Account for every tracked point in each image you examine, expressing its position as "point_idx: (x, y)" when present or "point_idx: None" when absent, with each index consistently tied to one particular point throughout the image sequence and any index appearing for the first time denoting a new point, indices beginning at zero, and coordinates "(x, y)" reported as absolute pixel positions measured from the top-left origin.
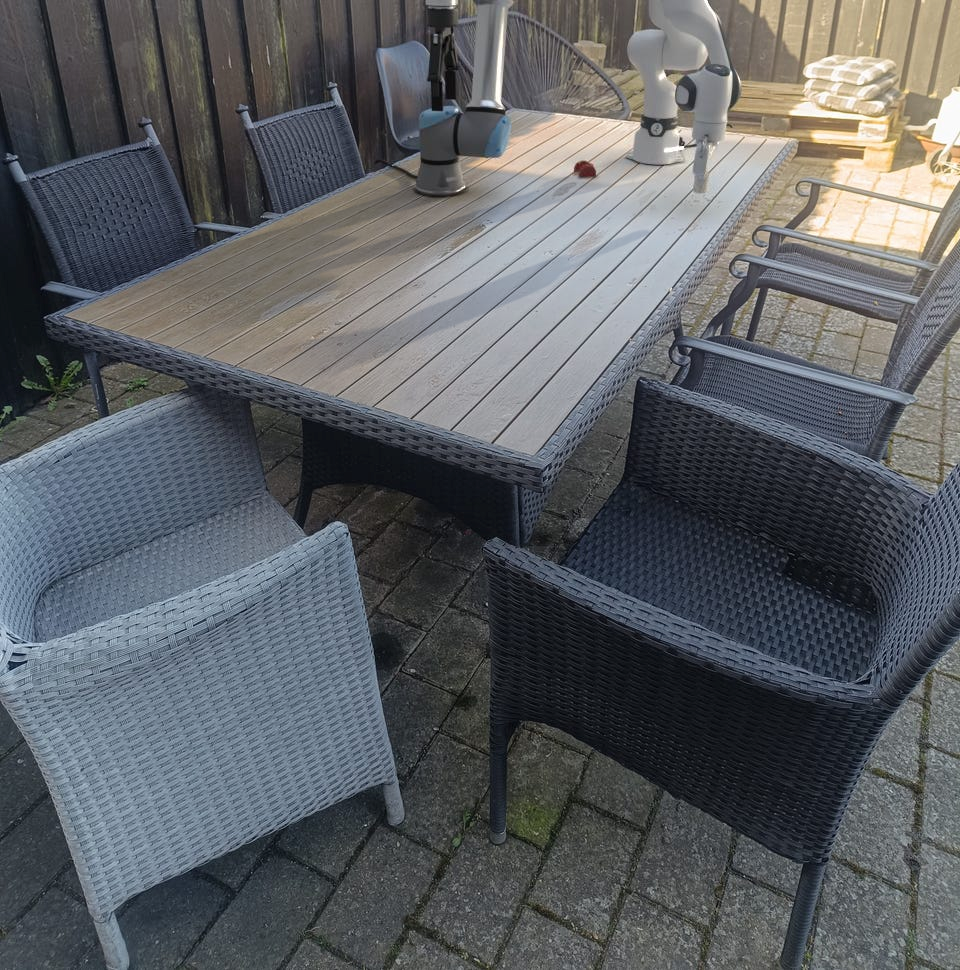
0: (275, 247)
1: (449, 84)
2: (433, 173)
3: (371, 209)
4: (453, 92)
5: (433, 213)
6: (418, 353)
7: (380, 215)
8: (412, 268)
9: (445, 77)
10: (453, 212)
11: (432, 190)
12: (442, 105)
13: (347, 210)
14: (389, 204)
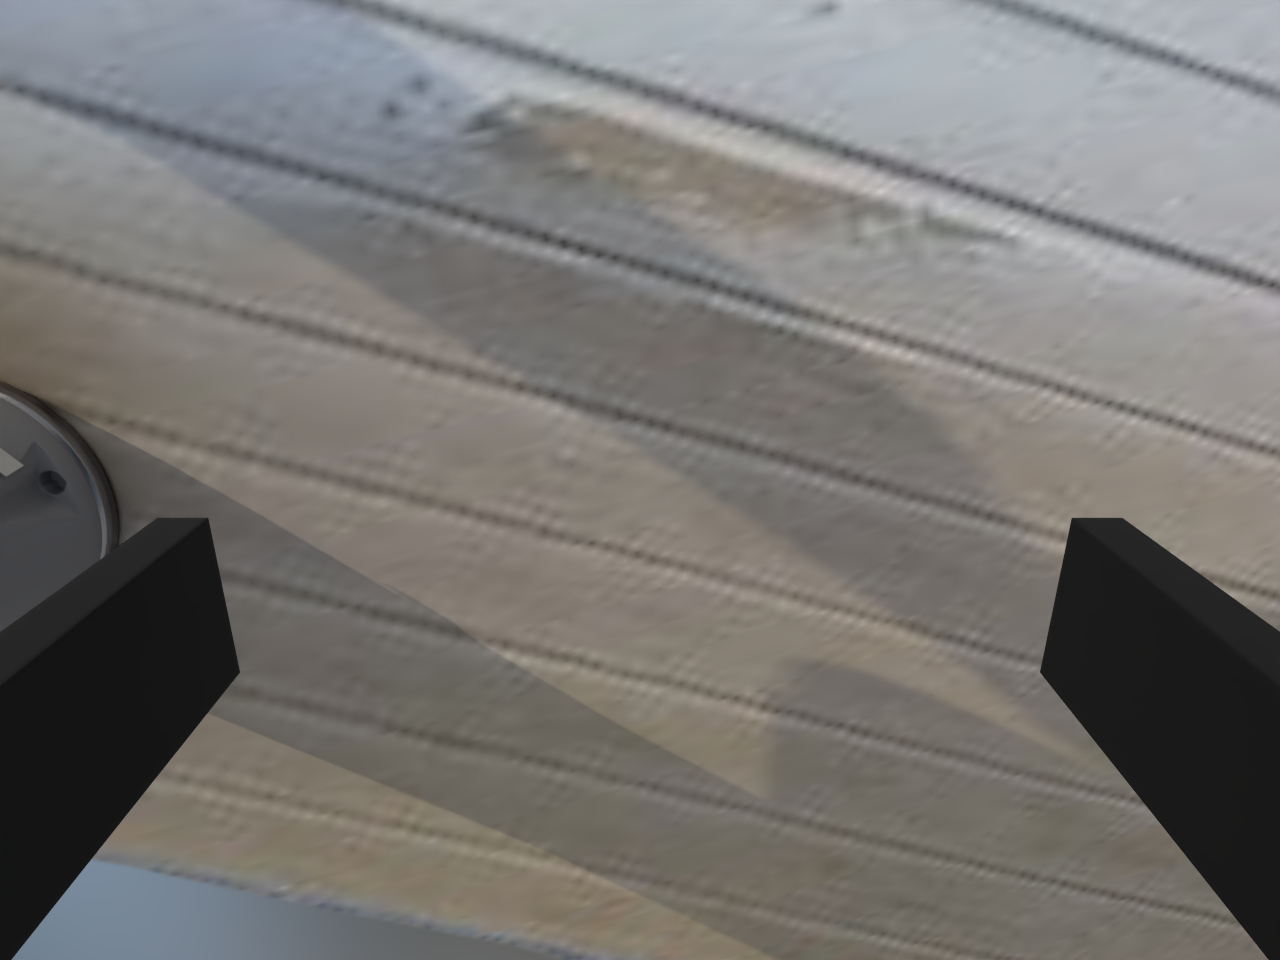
0: (927, 887)
1: (84, 761)
2: (13, 555)
3: (408, 713)
4: (153, 606)
5: (371, 437)
6: None
7: (476, 657)
8: (1143, 337)
9: (6, 947)
10: (320, 341)
11: (98, 520)
12: (1171, 557)
13: (453, 794)
14: (313, 663)
